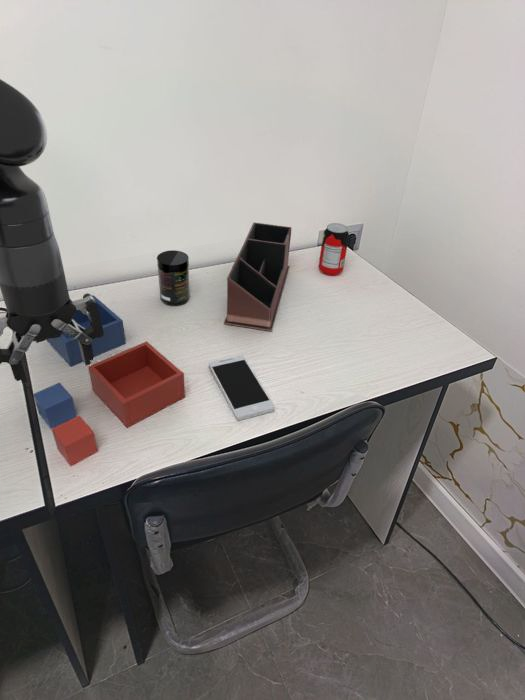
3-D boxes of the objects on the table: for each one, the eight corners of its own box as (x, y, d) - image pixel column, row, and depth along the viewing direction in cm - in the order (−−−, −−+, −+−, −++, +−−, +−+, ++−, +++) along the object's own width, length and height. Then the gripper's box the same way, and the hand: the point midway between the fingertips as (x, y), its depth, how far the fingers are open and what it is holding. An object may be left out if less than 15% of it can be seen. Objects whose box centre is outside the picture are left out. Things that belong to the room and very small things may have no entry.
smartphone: (237, 421, 84) (237, 417, 83) (207, 365, 95) (207, 361, 94) (275, 410, 86) (275, 407, 86) (242, 358, 97) (242, 354, 96)
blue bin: (70, 366, 92) (65, 342, 89) (43, 337, 98) (37, 314, 95) (126, 343, 99) (122, 320, 95) (97, 317, 105) (93, 294, 102)
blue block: (50, 429, 80) (44, 409, 77) (38, 413, 82) (32, 393, 80) (77, 416, 82) (72, 396, 80) (64, 401, 85) (59, 382, 82)
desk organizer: (289, 267, 128) (293, 226, 121) (271, 332, 105) (275, 286, 98) (249, 261, 129) (251, 220, 122) (223, 324, 106) (224, 278, 99)
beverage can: (347, 271, 128) (355, 227, 120) (334, 279, 124) (341, 235, 116) (326, 262, 131) (333, 219, 123) (313, 271, 127) (319, 227, 119)
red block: (70, 466, 74) (65, 446, 72) (57, 448, 77) (51, 428, 74) (98, 451, 77) (93, 431, 74) (84, 434, 79) (79, 415, 77)
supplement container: (195, 295, 114) (194, 255, 108) (179, 309, 109) (177, 268, 103) (170, 288, 116) (168, 247, 110) (154, 301, 111) (150, 260, 105)
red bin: (127, 428, 81) (123, 403, 78) (92, 390, 87) (87, 366, 84) (185, 397, 88) (184, 373, 84) (149, 364, 94) (146, 341, 90)
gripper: (-32, 297, 54) (6, 403, 64) (98, 270, 61) (114, 370, 71) (-40, 267, 59) (-4, 370, 69) (80, 245, 66) (98, 342, 76)
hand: (56, 370), depth 70 cm, fingers open, 8 cm apart
